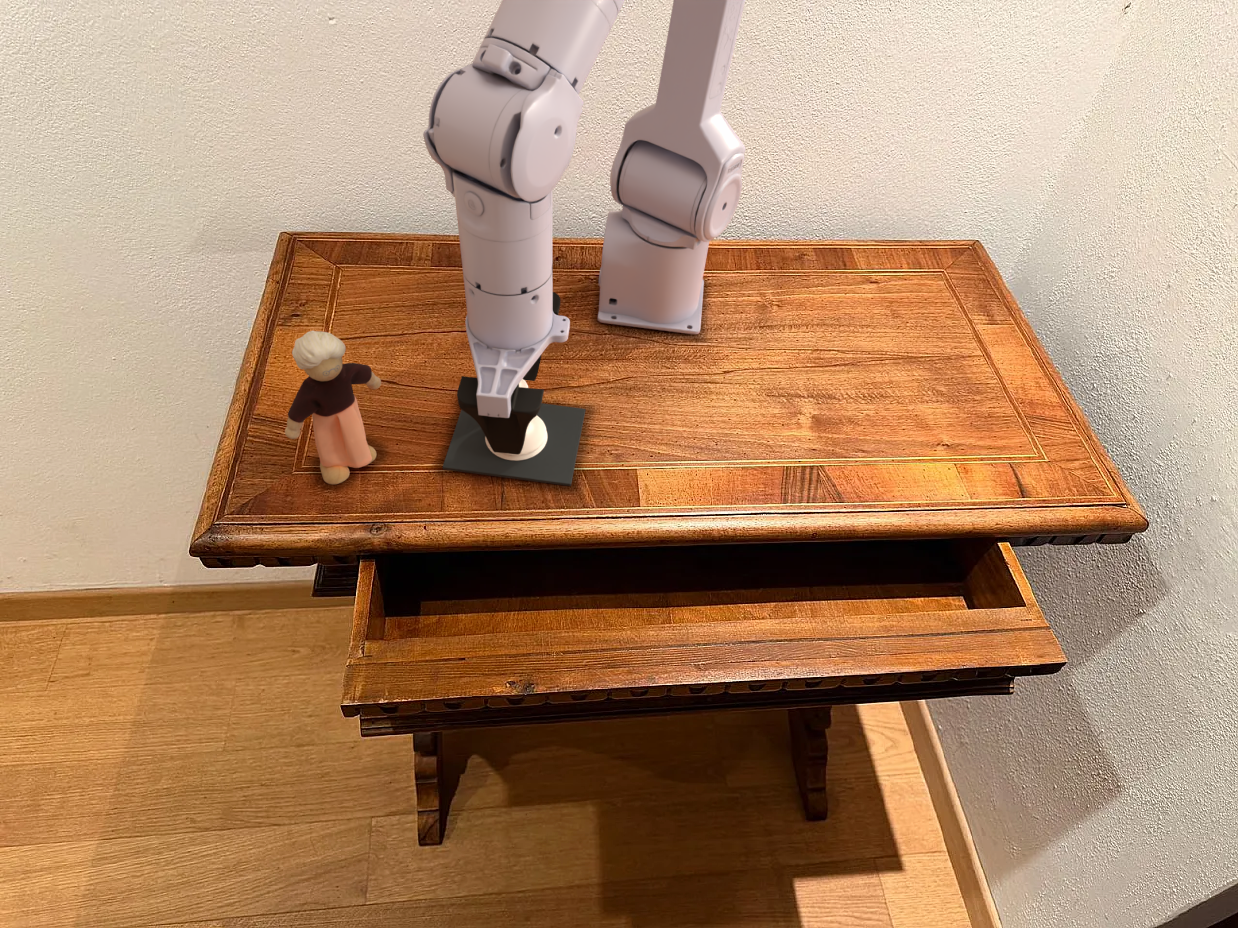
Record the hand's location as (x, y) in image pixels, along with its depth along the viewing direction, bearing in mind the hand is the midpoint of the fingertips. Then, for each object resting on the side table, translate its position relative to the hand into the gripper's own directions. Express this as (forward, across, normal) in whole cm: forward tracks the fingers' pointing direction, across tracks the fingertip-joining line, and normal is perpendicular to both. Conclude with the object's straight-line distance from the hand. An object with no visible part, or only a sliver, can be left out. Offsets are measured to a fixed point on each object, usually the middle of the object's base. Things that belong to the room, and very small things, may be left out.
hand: (515, 412), depth 61 cm
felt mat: (+3, 0, 0) cm, 3 cm away
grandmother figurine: (+3, -4, +12) cm, 13 cm away
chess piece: (+3, 0, 0) cm, 3 cm away
